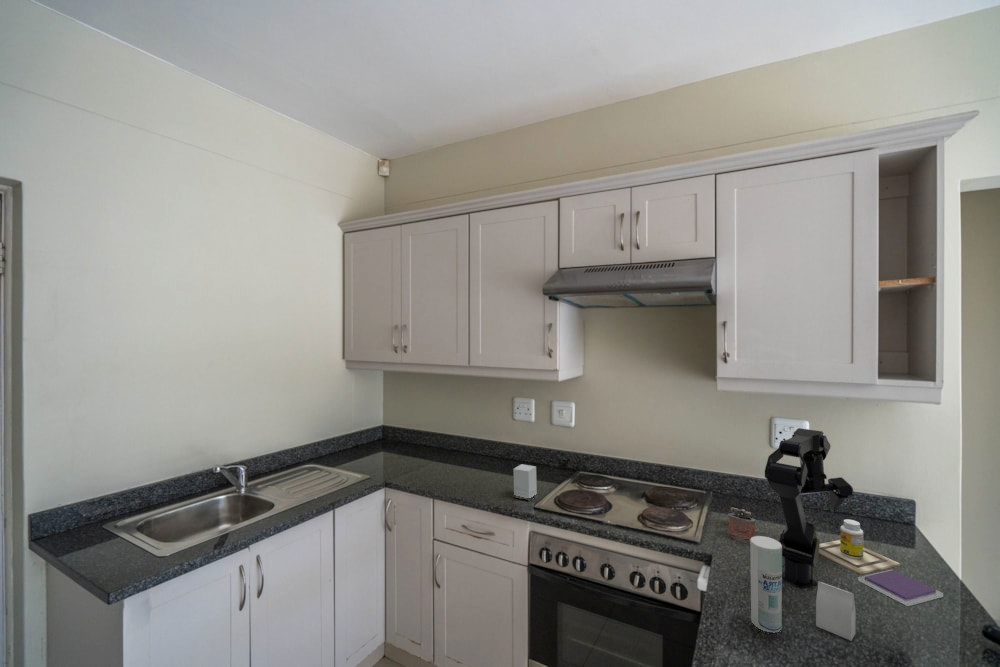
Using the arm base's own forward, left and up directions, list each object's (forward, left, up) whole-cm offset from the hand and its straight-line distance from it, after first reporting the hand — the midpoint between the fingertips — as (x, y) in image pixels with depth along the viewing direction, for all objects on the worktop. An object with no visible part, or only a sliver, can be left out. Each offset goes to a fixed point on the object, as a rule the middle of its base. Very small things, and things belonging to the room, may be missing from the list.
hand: (816, 513), depth 138 cm
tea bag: (-27, -27, -13) cm, 40 cm away
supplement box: (-69, +72, -13) cm, 101 cm away
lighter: (-13, +15, -13) cm, 24 cm away
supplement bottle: (+9, -4, -13) cm, 16 cm away
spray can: (-41, -21, -13) cm, 48 cm away
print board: (+10, -4, -13) cm, 17 cm away
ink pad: (+5, -20, -13) cm, 24 cm away
